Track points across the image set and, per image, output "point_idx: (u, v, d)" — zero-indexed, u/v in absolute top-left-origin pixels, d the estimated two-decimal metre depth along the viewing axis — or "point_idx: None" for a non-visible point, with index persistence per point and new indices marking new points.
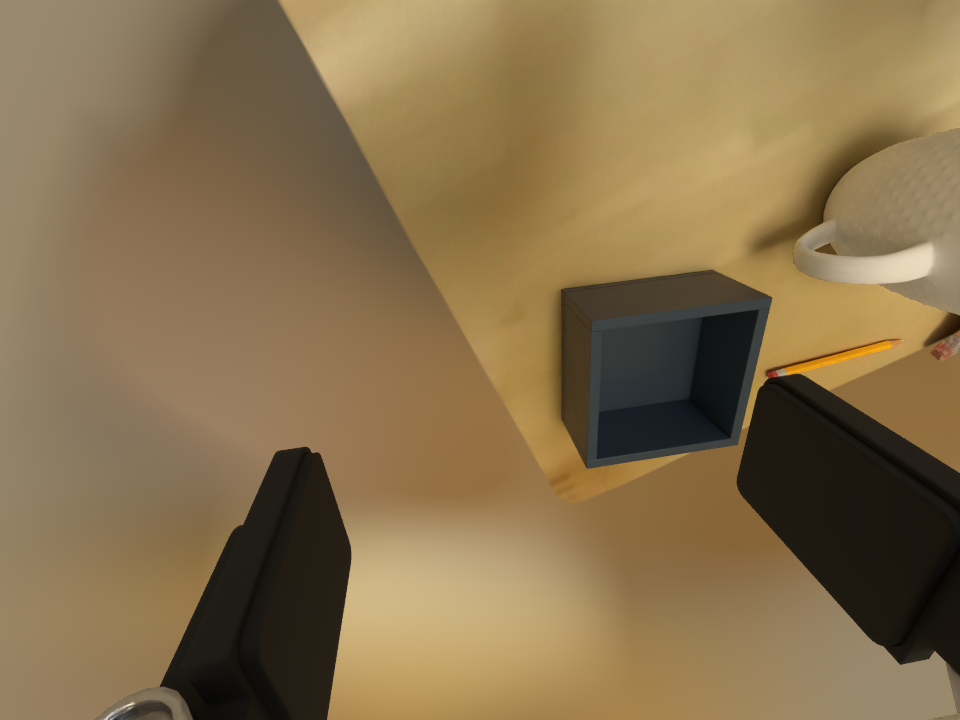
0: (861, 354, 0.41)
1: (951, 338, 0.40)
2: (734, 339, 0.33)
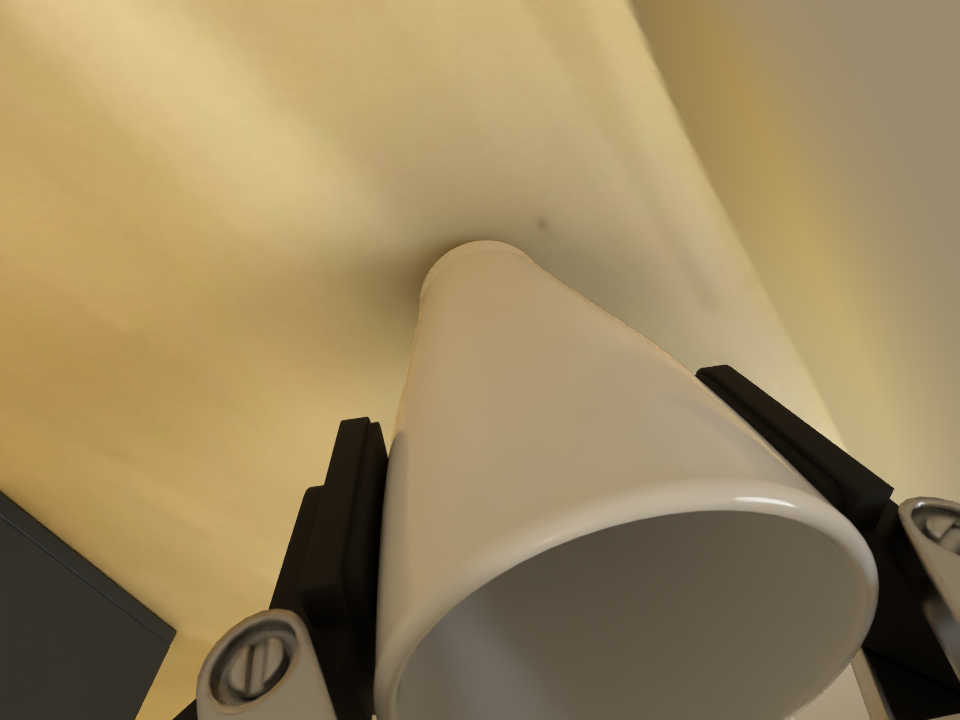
0: None
1: None
2: None
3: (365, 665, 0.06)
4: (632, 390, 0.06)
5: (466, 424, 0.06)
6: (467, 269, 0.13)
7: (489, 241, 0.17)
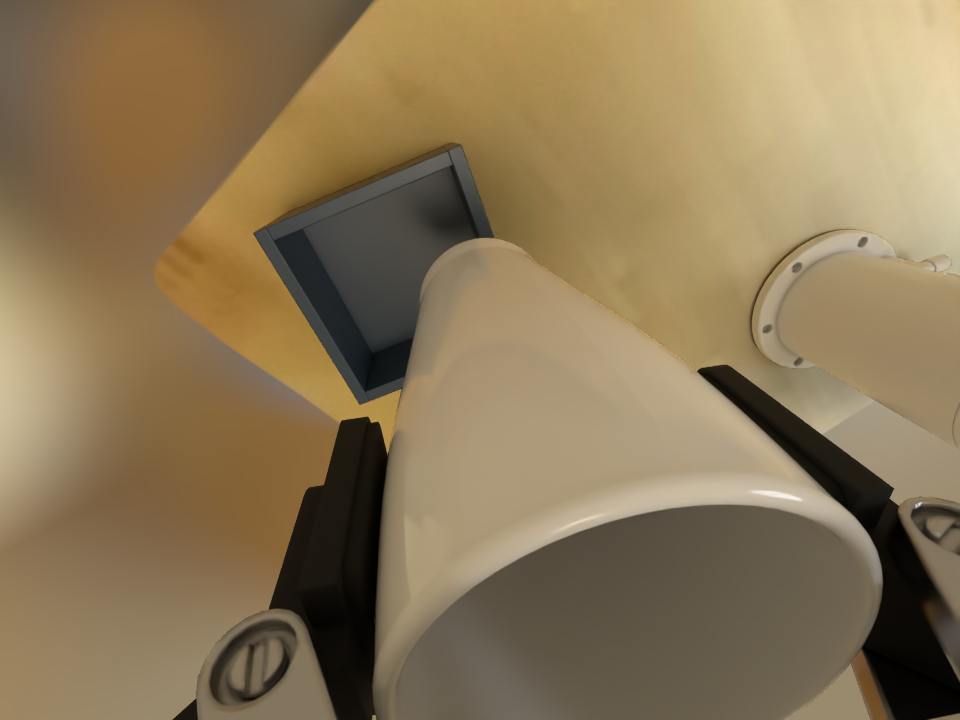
0: None
1: None
2: None
3: (365, 665, 0.06)
4: (633, 385, 0.06)
5: (466, 419, 0.06)
6: (467, 266, 0.13)
7: (489, 239, 0.17)
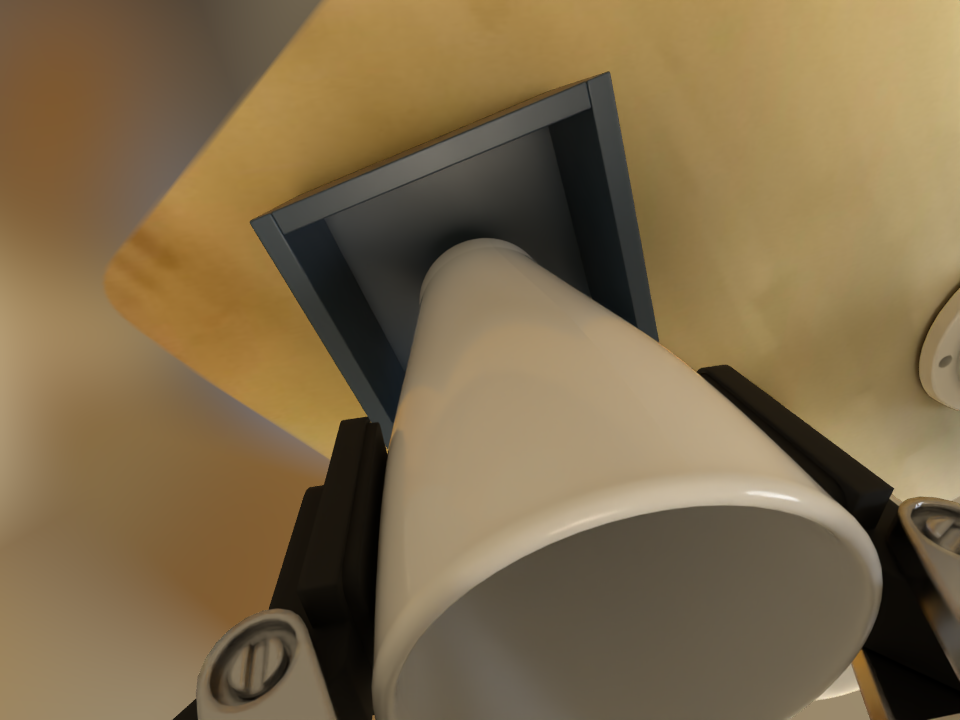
0: None
1: None
2: None
3: (365, 665, 0.06)
4: (632, 385, 0.06)
5: (465, 419, 0.06)
6: (467, 266, 0.13)
7: (489, 239, 0.17)
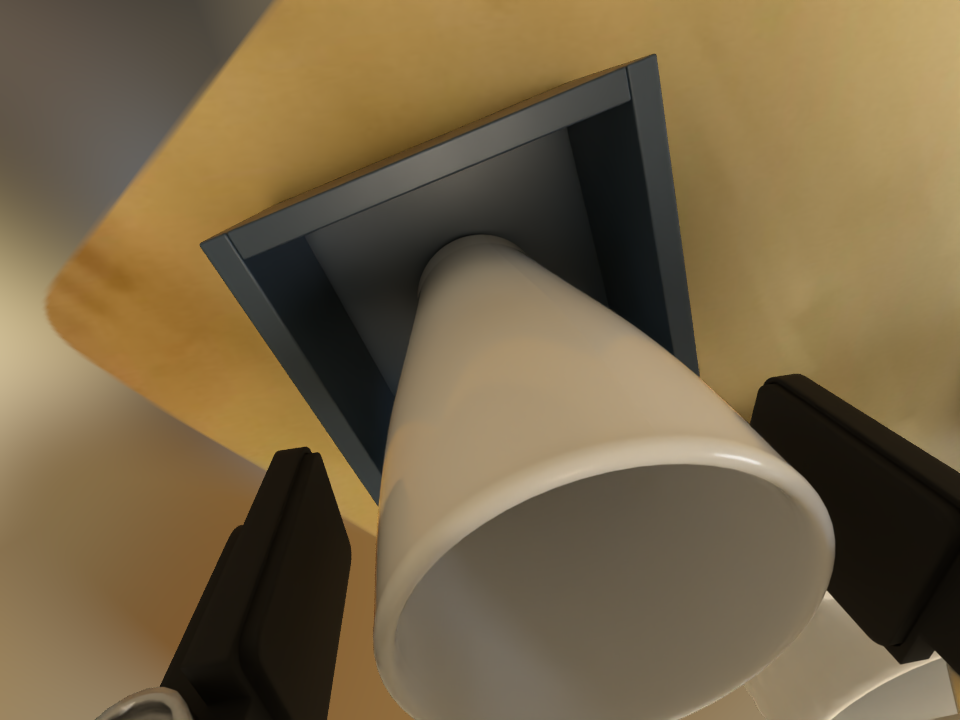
0: None
1: None
2: None
3: None
4: (610, 364, 0.06)
5: (458, 396, 0.07)
6: (463, 261, 0.14)
7: (485, 235, 0.17)
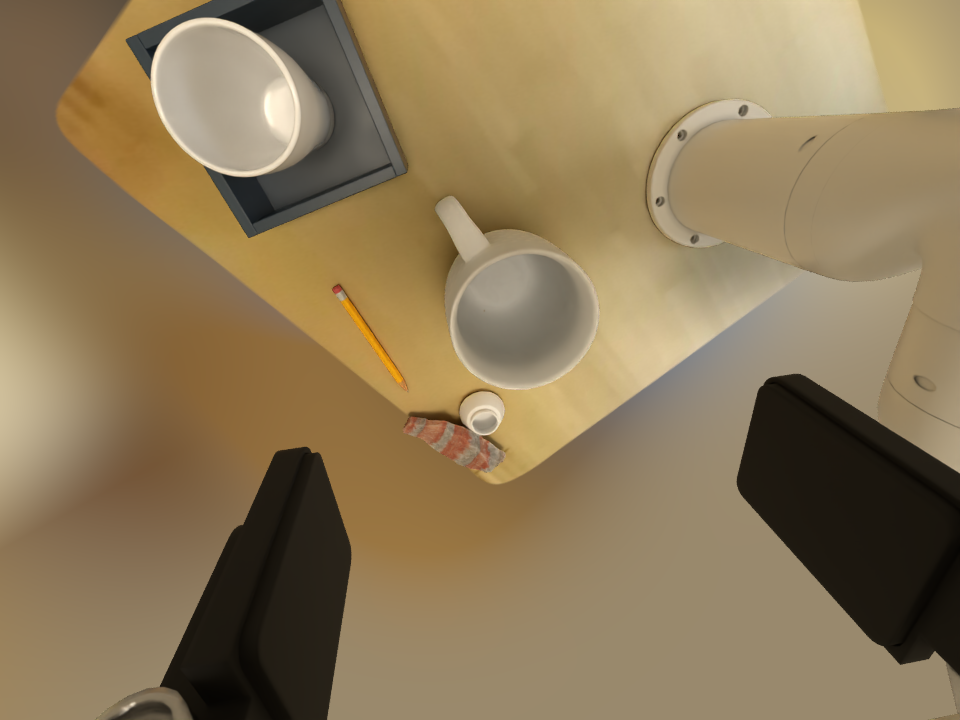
0: (384, 360, 0.45)
1: (423, 419, 0.48)
2: (355, 179, 0.33)
3: None
4: None
5: None
6: None
7: None
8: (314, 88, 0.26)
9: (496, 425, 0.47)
